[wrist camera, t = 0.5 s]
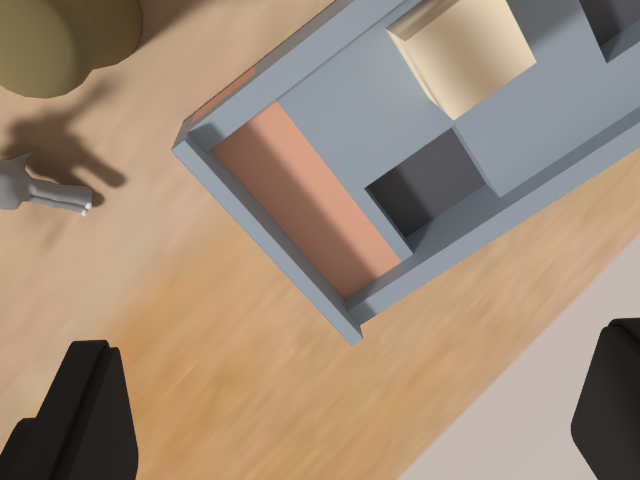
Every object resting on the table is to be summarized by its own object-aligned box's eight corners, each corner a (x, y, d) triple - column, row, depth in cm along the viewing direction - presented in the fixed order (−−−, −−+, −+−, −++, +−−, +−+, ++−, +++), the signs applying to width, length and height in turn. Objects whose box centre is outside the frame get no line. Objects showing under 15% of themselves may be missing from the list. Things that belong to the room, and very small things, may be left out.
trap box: (636, -240, 29) (718, -280, 24) (726, 44, 37) (803, 60, 32) (183, 120, 36) (170, 150, 31) (340, 297, 44) (351, 345, 39)
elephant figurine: (68, 259, 40) (-85, 241, 35) (76, 182, 42) (-68, 154, 37) (108, 224, 32) (-80, 194, 27) (116, 131, 34) (-60, 87, 29)
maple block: (459, -29, 31) (493, -25, 26) (499, 46, 33) (536, 62, 28) (384, 28, 32) (405, 41, 27) (428, 97, 34) (453, 120, 30)
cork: (22, -41, 31) (-85, -34, 21) (132, -45, 31) (76, -41, 22) (51, 70, 34) (-32, 120, 24) (151, 64, 34) (109, 112, 25)
